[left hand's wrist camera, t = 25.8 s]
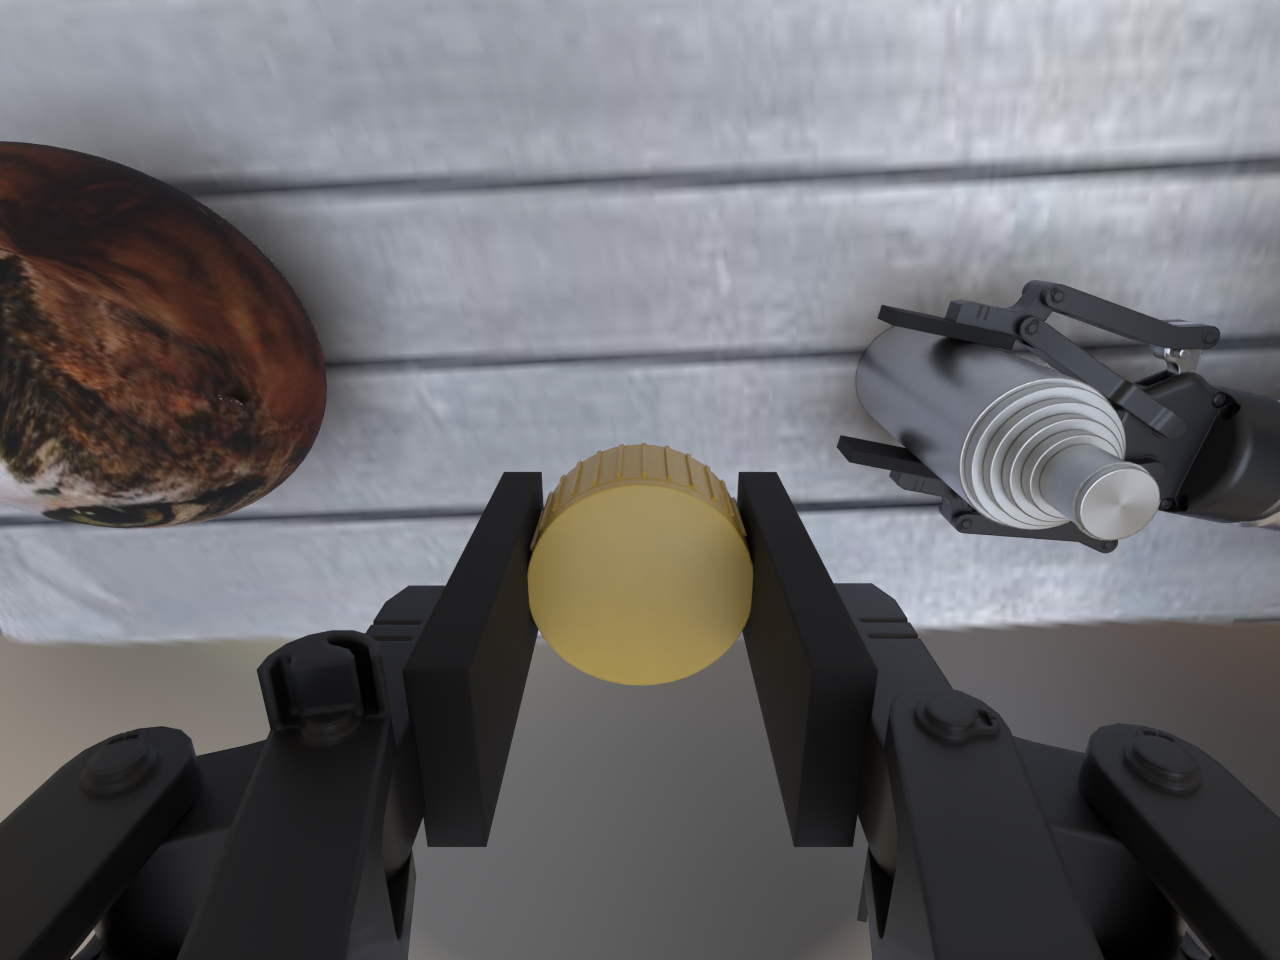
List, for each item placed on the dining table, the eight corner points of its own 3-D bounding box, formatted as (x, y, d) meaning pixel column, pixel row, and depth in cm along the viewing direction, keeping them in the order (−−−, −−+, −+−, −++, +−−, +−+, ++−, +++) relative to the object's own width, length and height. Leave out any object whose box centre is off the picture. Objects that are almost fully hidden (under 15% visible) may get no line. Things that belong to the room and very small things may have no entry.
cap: (639, 657, 16) (640, 726, 14) (497, 536, 15) (474, 590, 12) (783, 537, 15) (806, 592, 12) (641, 397, 13) (641, 431, 11)
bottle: (847, 425, 47) (1002, 585, 27) (864, 318, 44) (1049, 407, 24) (951, 430, 47) (1184, 593, 27) (974, 324, 45) (1248, 417, 24)
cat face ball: (-112, 442, 42) (-511, 262, 23) (98, 230, 48) (-86, -39, 30) (244, 617, 45) (137, 580, 27) (394, 398, 52) (392, 248, 33)
